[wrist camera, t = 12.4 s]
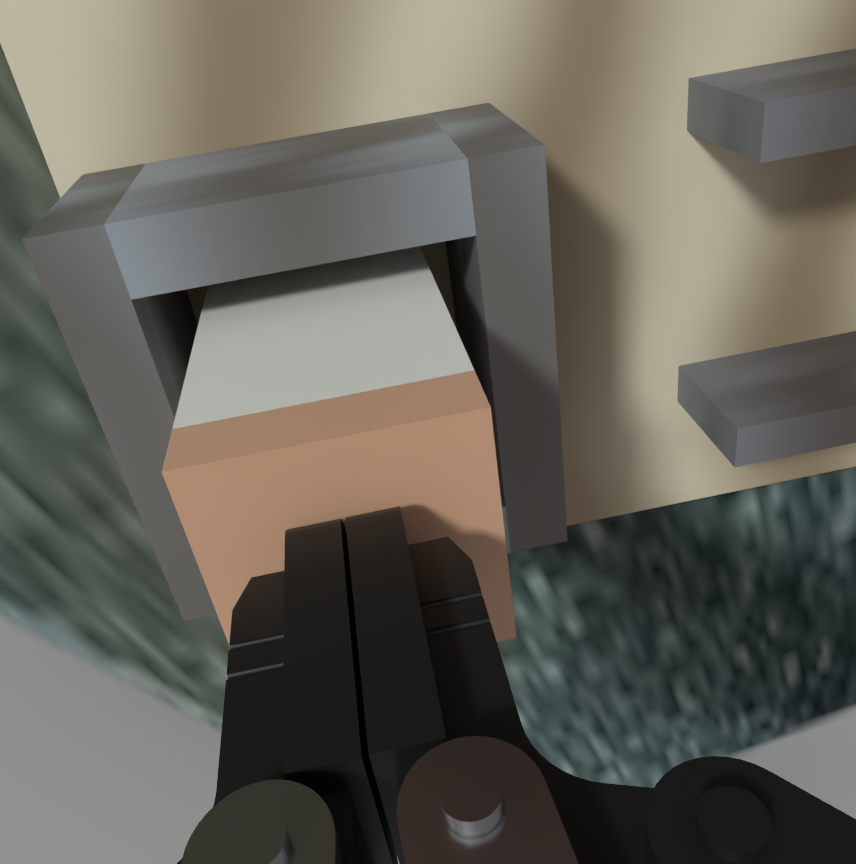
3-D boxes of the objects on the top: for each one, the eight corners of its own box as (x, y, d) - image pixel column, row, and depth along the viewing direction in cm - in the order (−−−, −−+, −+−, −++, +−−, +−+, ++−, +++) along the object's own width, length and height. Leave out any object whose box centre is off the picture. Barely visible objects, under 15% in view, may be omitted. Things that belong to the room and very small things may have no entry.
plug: (407, 219, 16) (490, 407, 10) (433, 386, 18) (516, 637, 12) (215, 254, 16) (161, 471, 9) (264, 419, 18) (248, 695, 11)
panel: (1026, -174, 16) (1338, -227, 11) (900, 422, 23) (1054, 540, 18) (9, -6, 15) (-122, 12, 10) (219, 561, 22) (201, 724, 17)
